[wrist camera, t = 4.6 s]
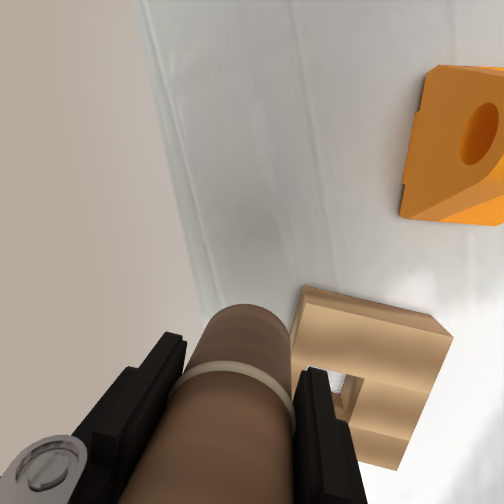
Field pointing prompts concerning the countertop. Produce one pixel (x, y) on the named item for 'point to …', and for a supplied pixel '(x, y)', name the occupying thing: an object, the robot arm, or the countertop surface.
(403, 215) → the bracket
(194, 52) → the countertop surface
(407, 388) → the board
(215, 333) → the peg
